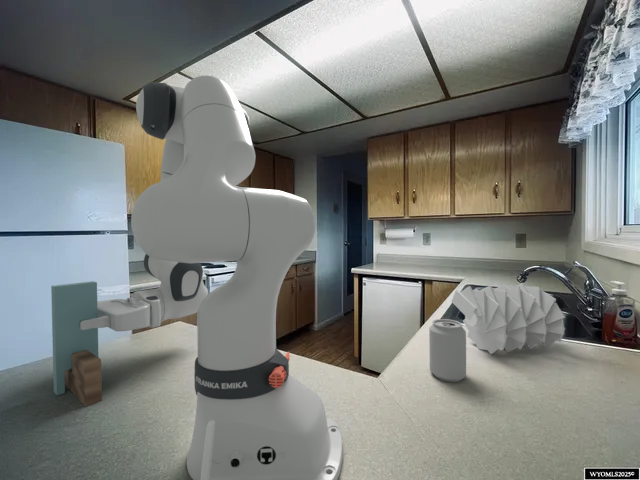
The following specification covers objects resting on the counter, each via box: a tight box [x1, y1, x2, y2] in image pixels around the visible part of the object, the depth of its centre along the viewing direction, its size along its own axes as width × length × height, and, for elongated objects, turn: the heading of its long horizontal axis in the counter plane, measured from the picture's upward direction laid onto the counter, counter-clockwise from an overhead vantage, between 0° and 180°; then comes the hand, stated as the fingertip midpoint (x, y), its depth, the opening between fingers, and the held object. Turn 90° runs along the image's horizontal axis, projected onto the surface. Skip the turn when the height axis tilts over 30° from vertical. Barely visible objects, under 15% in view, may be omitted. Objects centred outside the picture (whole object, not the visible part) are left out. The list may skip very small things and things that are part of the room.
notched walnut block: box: [64, 350, 103, 408], centre depth 59 cm, size 16×2×8 cm, turn 53°
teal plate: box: [50, 281, 100, 396], centre depth 61 cm, size 2×7×22 cm, turn 143°
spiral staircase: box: [450, 282, 566, 355], centre depth 79 cm, size 18×18×25 cm
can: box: [428, 318, 467, 383], centre depth 64 cm, size 8×8×12 cm
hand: (73, 321), depth 61 cm, fingers open, 8 cm apart
